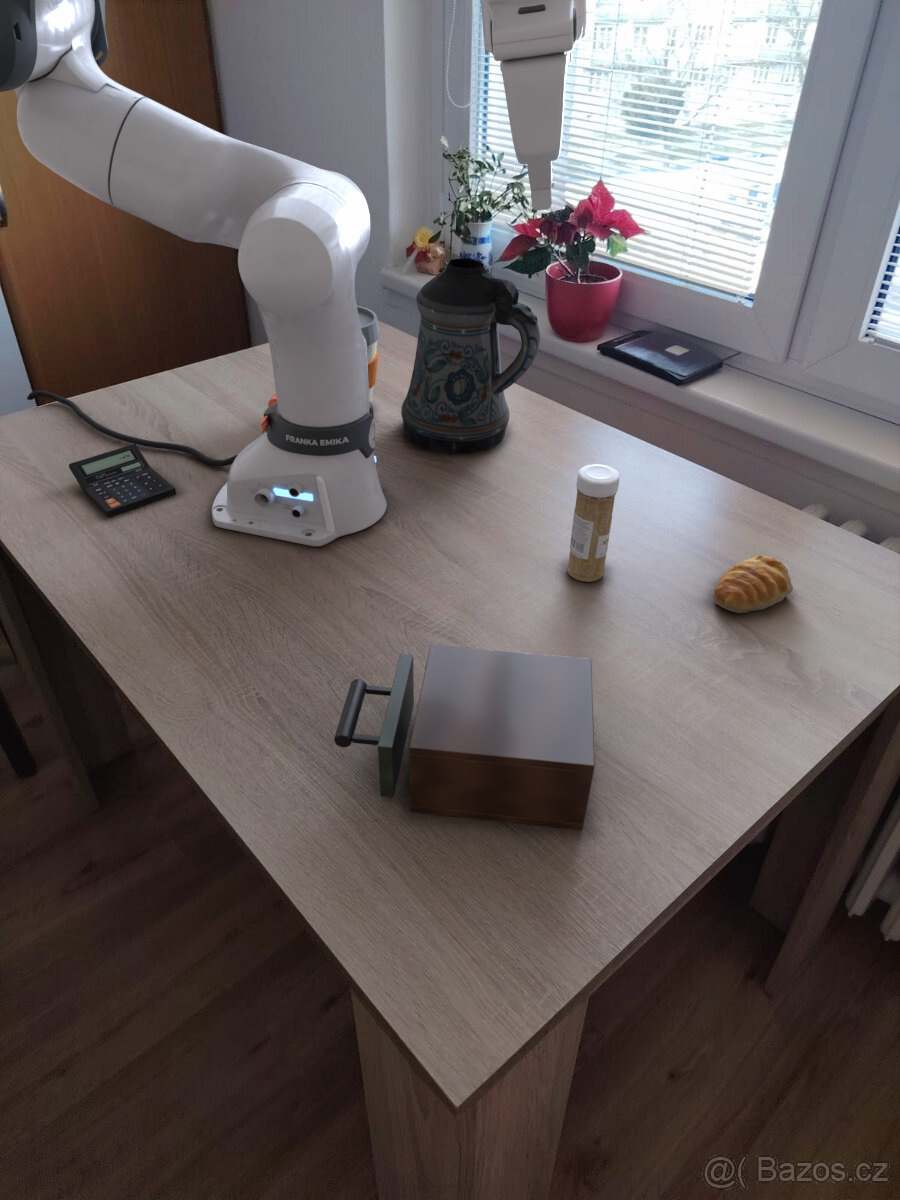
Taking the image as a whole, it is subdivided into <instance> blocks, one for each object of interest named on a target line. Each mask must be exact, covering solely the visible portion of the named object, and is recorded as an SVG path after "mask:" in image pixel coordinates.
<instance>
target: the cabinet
mask: <svg viewBox="0 0 900 1200" xmlns="http://www.w3.org/2000/svg"><path fill="white" fill-rule="evenodd" d="M426 663H427V664H426ZM426 663H425V667H426V669H425V668H424V674H423V679H422V684H421V689H420V694H419V698H418V703H417V708H416V713H415V718H414V724H413V728H412V733H411V738H410V740H411V742H410V741H409V749H408V750H409V797H410V798H409V799H410V800H409V801H410V804H409V805H410V812H411V813H416V814H417V813H418V814H427V815H436V816H437V815H438V816H444V817H445V816H447V817H454V818H456V817H457V818H466V819H475V820H484V821H494V822H503V823H511V824H521V825H532V826H533V825H534V826H540V827H541V826H542V827H550V828H551V827H552V828H559V829H560V828H561V829H569V830H570V829H571V830H577V831H578V830H579V831H583V830H584V825H585V821H586V814H587V808H588V805H589V799H590V793H591V788H592V783H593V776H594V773H595V772H594V771H595V765H596V763H595V731H594V727H595V726H594V699H593V698H594V697H593V666H592V665H593V663H592V658H586V657H577V656H576V657H574V656H562V655H552V654H540V653H529V652H518V651H508V650H507V651H506V650H496V649H487V648H486V649H485V648H474V647H473V648H472V647H463V646H451V645H450V646H449V645H439V644H430V645H429V650H428V654H427V659H426Z"/></svg>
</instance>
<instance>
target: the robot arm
mask: <svg viewBox="0 0 900 1200" xmlns="http://www.w3.org/2000/svg"><path fill="white" fill-rule="evenodd" d="M106 6H107V5H106V0H0V93H3V92H4V93H5V92H9V91H14V93H15V95H16V99H18V101H17V106H16V123H17V129H18V133H19V135H20V139H21V141H22V143H23V145H24V147H25V148H26V149H27V152H29V153H30V155H31V156H32V157H33V158H35V159H36V160H37V161H38V162H39V163H40V164H42V165H43V166H45V167H46V168H48V169H49V170H51V171H52V172H53V173H55V174H56V175H58V176H60V177H61V178H63V179H64V180H66V181H67V182H69V184H72V185H74V186H76V187H77V188H79V189H80V190H82V191H84V192H85V193H87V194H88V195H91V196H93V197H95V198H96V199H98V200H100V201H102V202H103V203H106V204H108V205H110V206H112V207H115V208H116V209H119V210H121V211H122V212H125V213H127V214H129V215H132V216H134V217H135V218H138V219H139V220H141V221H144V222H146V223H149V224H151V225H153V226H155V227H158V228H159V229H162V230H164V231H165V232H168V233H170V234H172V235H175V236H176V237H179V238H181V239H183V240H186V241H188V242H193V243H200V244H201V243H206V244H213V245H217V246H223V247H228V248H231V249H234V250H235V249H236V250H238V253H237V267H238V272H239V275H240V279H241V281H242V284H243V286H244V288H245V290H246V291H247V292H248V294H249V295H250V296H251V298H252V299H253V300H254V301H255V304H256V307H257V311H258V314H259V316H260V319H261V323H262V325H263V329H264V331H265V334H266V338H267V341H268V342H267V343H268V346H269V350H270V357H271V363H272V370H273V378H274V379H273V380H274V389H275V393H274V394H272V396H271V397H270V399H269V400H268V402H267V408H266V409H265V411H264V413H263V418H262V420H261V421H260V427H261V433H263V434H261V435H260V436H259V437H257V438H256V439H255V440H253V441H251V442H250V443H249V444H247V445H246V446H245V447H244V448H242V450H241V451H239V453H238V454H235V455H233V456H231V457H228V458H225V459H217V458H215V459H214V458H211V457H209V456H207V455H205V454H204V453H202V452H200V451H199V450H197V449H195V448H193V447H190V446H187V445H183V444H178V443H172V442H164V441H163V442H162V441H155V440H150V439H149V440H148V439H143V438H139V437H135V436H131V435H126V434H124V433H120V432H118V431H115V430H113V429H110V428H108V427H105V426H103V425H102V424H100V423H98V422H96V420H94V419H92V418H91V417H90V416H89V415H87V413H85V412H84V411H82V410H81V408H80V407H79V406H78V405H77V404H75V402H73V401H72V400H70V399H68V398H66V397H63V396H61V395H59V394H55V393H52V392H50V391H46V390H41V389H40V390H33V391H31V392H30V393H29V394H28V395H27V397H26V400H28V401H32V400H34V399H35V398H37V397H43V398H47V399H50V400H53V401H56V402H58V403H60V404H63V405H65V406H68V407H69V408H70V409H72V410H73V412H74V413H75V414H76V415H77V417H79V418H80V419H82V420H83V421H84V422H85V423H87V424H88V425H89V426H91V427H92V428H94V429H95V430H97V432H99V433H102V434H105V435H107V436H109V437H111V438H113V439H116V440H118V441H119V440H120V441H124V442H127V443H129V444H136V445H137V446H142V447H148V448H154V449H162V450H170V451H177V452H182V453H185V454H189V455H191V456H193V457H195V458H197V459H198V460H200V461H201V462H203V463H205V464H207V465H209V466H214V467H227V466H230V465H231V466H230V468H229V471H228V476H227V481H226V483H225V484H223V486H222V487H221V489H219V491H218V493H217V494H216V496H215V498H214V500H213V502H212V505H211V506H212V507H211V519H212V522H213V524H214V526H215V527H218V528H221V529H225V530H229V531H236V532H239V533H244V534H251V535H254V536H259V537H265V538H271V539H275V540H280V541H284V542H285V541H286V542H290V543H295V544H299V545H305V546H309V547H316V548H317V547H322V546H325V545H327V544H329V543H331V542H333V541H335V540H336V539H337V538H340V537H343V536H347V535H351V534H354V533H357V532H361V531H362V530H365V529H368V528H369V527H371V526H373V525H374V524H376V523H377V522H378V521H380V519H382V517H383V516H384V514H385V513H386V510H387V505H388V503H387V500H386V497H385V494H384V491H383V489H382V485H381V482H380V478H379V474H378V470H377V456H375V448H376V442H377V441H376V437H377V436H376V418H375V416H374V415H375V414H374V406H373V403H372V402H370V401H369V382H368V360H367V343H366V340H365V338H364V336H363V334H362V330H361V325H360V320H359V315H358V310H357V306H358V304H357V299H356V289H355V279H356V273H357V268H358V267H357V266H358V264H359V263H360V261H361V259H362V257H363V256H364V255H365V253H366V250H367V248H368V246H369V242H370V239H371V238H370V237H371V214H370V210H369V209H370V208H369V205H368V202H367V199H366V197H365V195H364V194H363V192H362V190H361V188H359V186H358V185H357V184H356V183H355V182H354V181H352V179H350V178H349V177H348V176H346V175H344V174H341V173H340V172H336V171H333V170H327V169H323V168H319V167H317V166H313V165H311V164H309V163H306V162H305V161H301V160H299V159H296V158H293V157H290V156H288V155H285V154H282V153H279V152H276V151H273V150H270V149H267V148H265V147H261V146H258V145H255V144H253V143H252V144H251V143H248V142H245V141H243V140H241V139H240V140H239V139H236V138H234V137H231V136H228V135H226V134H224V133H221V132H219V131H217V130H215V129H213V128H211V127H209V126H206V125H204V124H202V123H201V122H198V121H196V120H193V119H192V118H190V117H188V116H186V115H184V114H182V113H180V112H178V111H176V110H174V109H171V108H170V107H167V106H166V105H164V104H161V103H159V102H157V101H155V100H154V99H152V98H149V97H147V96H145V95H143V94H141V93H140V92H139V93H138V92H137V91H134V90H132V89H130V88H128V87H126V86H124V85H122V84H120V83H119V82H117V81H115V80H114V79H112V78H110V77H109V76H108V75H106V73H105V72H104V71H103V70H102V69H101V68H100V67H101V66H102V65H103V64H104V63H105V61H106V60H107V58H108V55H109V44H108V38H107V31H106V20H107V19H106V16H107V9H106V8H107V7H106ZM480 7H481V8H480V9H481V22H482V33H483V44H484V51H486V52H487V53H490V54H491V55H492V56H493V59H494V61H495V62H499V67H500V68H499V69H500V72H501V76H502V81H503V88H504V94H505V102H506V108H507V113H508V119H509V127H510V132H511V139H512V144H513V148H514V153H515V156H516V160H517V162H518V163H519V164H520V165H527V177H528V181H529V187H530V198H531V199H530V200H531V207H532V209H533V210H534V211H536V212H537V211H546V210H549V209H550V208H552V204H553V202H552V201H553V200H552V181H553V162H554V161H557V160H558V159H559V157H560V154H561V148H562V139H563V127H564V111H565V98H566V97H565V96H566V95H565V94H566V81H567V72H568V71H567V70H568V65H571V64H572V62H573V52H572V51H573V50H574V48H575V46H576V45H577V44H578V43H579V42H580V41H582V40H584V39H586V37H587V33H588V32H587V0H480ZM100 52H101V53H102V54H101V55H100ZM99 55H100V56H99ZM98 56H99V58H98V59H97V57H98Z"/></svg>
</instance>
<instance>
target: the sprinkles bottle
mask: <svg viewBox="0 0 900 1200" xmlns="http://www.w3.org/2000/svg"><path fill="white" fill-rule="evenodd" d="M620 477H621V476H620V473H619V472H618V470H616V469H615V468H614V467H611V466H609V465H605V464H598V463H593V464H586V465H585V466H582V467H581V468H580V469H579V470H578V472H577V477H576V498H575V506H574V510H573V518H572V526H571V534H570V543H569V549H570V550H569V556H568V563H567V564H566V572H567V573H568V575H569V576H570V577H571V578H573V579H575V580H576V581H579V582H585V583H586V582H587V583H591V582H596V581H598V580H600V579H602V578H603V576H604V575H605V572H606V570H605V566H606V558H607V553H608V548H609V541H610V535H611V527H612V521H613V520H612V519H613V512H614V505H615V497H616V495H617V493H618V491H619V485H620Z"/></svg>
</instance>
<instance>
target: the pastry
mask: <svg viewBox="0 0 900 1200" xmlns="http://www.w3.org/2000/svg"><path fill="white" fill-rule="evenodd" d="M793 590H794V587H793V584H792V578H791V576H790V574H789V570H788V568H787V566H786V565H785V564H784V563H783V562H781V560H778V559H777V558H776V557H773V556H765V555H763V554H758V555H755V556H751V557H750V558H749V559H746V560H742V561H739V562H738V563H736V564H734V565H733V566H732V567H730V568H729V569H727V571H725V572H724V573H723V574H722V576H721V578H720V579H719V581H718V584H717V585H716V587H714V593H713V597H714V598H713V602H714V604H716V605H718V606H720V607H721V608H722V609H724V610H728V611H729V612H733V613H735V614H740V615H741V614H743V613H744V614H747V613H749V612H754V611H755V612H759V611H762V610H765V609H767V608H770V607H771V606H774V605H775V604H777V603H781V602H782V601H783V600H784V599H785V598H786V597H788V596H789V595H790V594H791V593H792V592H793Z"/></svg>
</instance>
